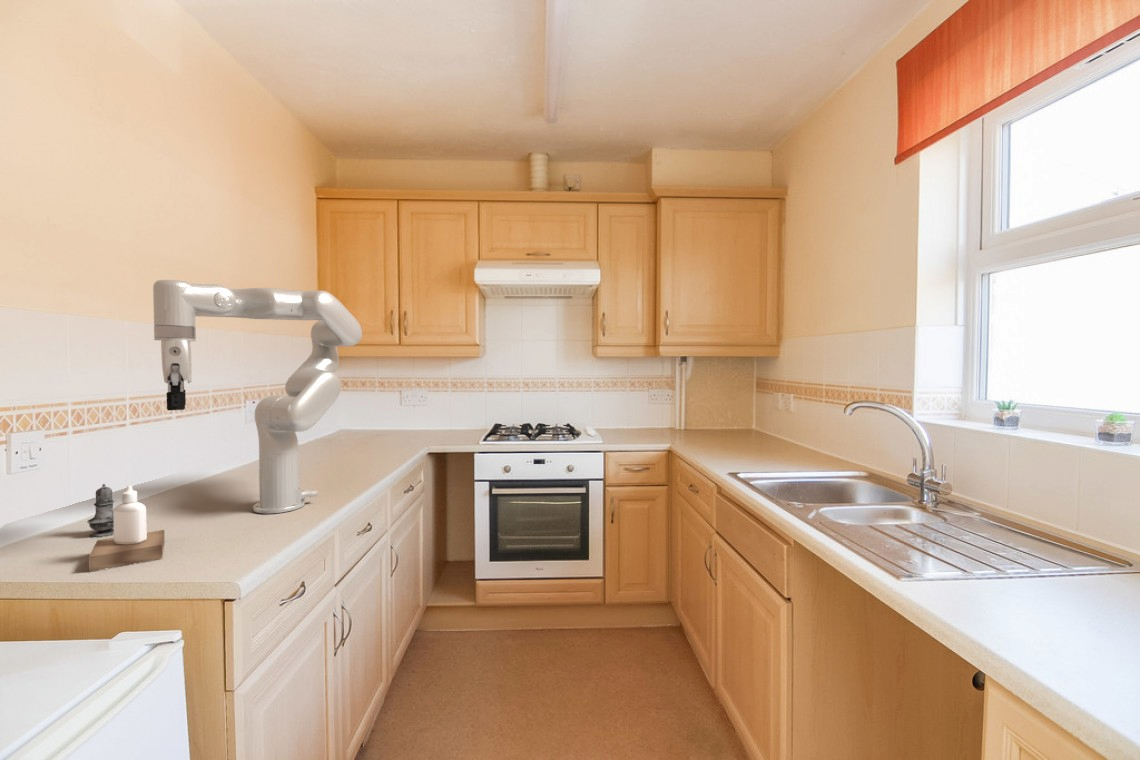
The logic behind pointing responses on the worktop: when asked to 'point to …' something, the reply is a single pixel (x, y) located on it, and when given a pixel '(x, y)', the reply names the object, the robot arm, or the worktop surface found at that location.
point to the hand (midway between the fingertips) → (176, 408)
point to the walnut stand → (126, 552)
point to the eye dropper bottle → (130, 519)
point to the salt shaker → (103, 513)
